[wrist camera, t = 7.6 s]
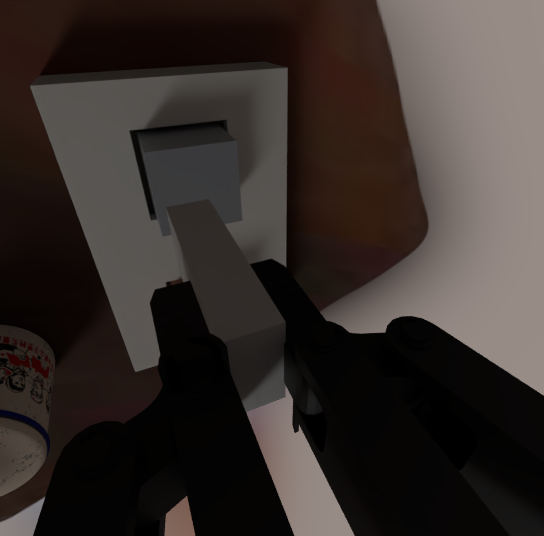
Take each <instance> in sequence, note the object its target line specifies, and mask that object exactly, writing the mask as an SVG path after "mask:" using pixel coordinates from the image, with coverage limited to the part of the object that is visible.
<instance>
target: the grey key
mask: <svg viewBox="0 0 544 536" xmlns="http://www.w3.org/2000/svg"><path fill="white" fill-rule="evenodd" d="M136 133H137V137H138V141H139V146H140V150H141V155H142V159H143V163H144V168H145V172H146V176H147V181H148V185H149V190H150V194H151V198H152V203H153V207H154V210H155V214H156V217H157V220H158V223H159V226H160V230H161V233H162V236H168V235H172V234H171V229H170V225H169V220H168V215H167V211H166V207H169V206H174V205H180V204H185V203H190V202H195V201H201V200H206V199H209V200H210V202H211V203H212V205H213V206H214V208H215V210H216V211H217V213H218V214H219V216H220V218H221V219H222V221H223V222H224V224H228V223H233V222H238V221H242V207H241V193H240V180H239V166H238V152H237V140H235V139H234V138H233V137H232V136H231V135H230V134H229V133H227V132H226V131H225V130H224V129H223V128H222V127H221V126H219V125H218V124H217V123H209V124H200V125H191V126H183V127H174V128H165V129H156V130H147V131H138V132H136Z"/></svg>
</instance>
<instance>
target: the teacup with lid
mask: <svg viewBox="0 0 544 536" xmlns="http://www.w3.org/2000/svg"><path fill="white" fill-rule="evenodd" d="M54 370H55V356H54V353H53V351H52V349H51V347H50V346H49V345H48V343H47V342H46V341H45V340H43V339H42V338H41V337H39V336H38V335H36V334H34V333H32V332H30V331H28V330H25V329H22V328H19V327H14V326H9V325H0V496H2V495H5V494H7V493H9V492H11V491H13V490H15V489H16V488H18V487H20V486H21V485H23V484H24V483H26V482H27V481H28V480H29V479H31V478H32V477H33V476H34V475H35V474H36V472H37V471H38V470H39V469H40V467H41V466H42V465H43V463H44V461H45V459H46V457H47V455H48V452H49V448H50V440H49V436H48V434H47V432H48V423H49V414H50V405H51V396H52V388H53V379H54Z"/></svg>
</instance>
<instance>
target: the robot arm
mask: <svg viewBox="0 0 544 536" xmlns="http://www.w3.org/2000/svg"><path fill="white" fill-rule="evenodd" d="M166 211H167V215H168V220H169V225H170V229H171V234H172V238H173V243H174V248H175V252H176V257H177V261H178V266H179V270H180V274H181V277H182V279H183V282H182V283H178V284H174V285H170V286H166V287H162V288H158V289H155V290H154V293H153V295H152V298H151V301H150V307H151V312H152V317H153V322H154V327H155V332H156V336H157V341H158V346H159V351H160V357H159V361H158V371H159V374H160V377H161V380H162V383H163V386H162V389H161V391H160V393H159V395H158V396H157V398H156V399H155V400H154V401H153V402H152V404H151V405H149V406H148V407H147V408H146V409H145V410H143V411H142V412H141V413H139V414H138V415H136V416H135V417H133V418H132V419H130V420H129V421H127V422H126V423H124V424H122V423H120V422H118V421H104V422H101V423H97V424H94V425H91V426H89V427H87V428H86V429H84V430H83V431H81V432H80V433H78V434H77V435H75V436H74V437H73V439H72V440H71V441H70V442H69V443H68V444H67V445H66V446H65V447H64V449H63V450H62V452H61V454H60V456H59V458H58V460H57V462H56V465H55V468H54V471H53V474H52V478H51V481H50V484H49V487H48V490H47V493H46V496H45V500H44V503H43V506H42V509H41V512H40V515H39V519H38V522H37V525H36V528H35V531H34V534H33V536H164V532H165V518H166V513H167V512H169V511H170V510H171V509H172V508H173V507H174V506H176V504H178V503H179V502H180V501H181V500H182V499H184V498H185V497H186V496H187V497H188V502H189V506H190V512H191V517H192V521H193V526H194V531H195V536H294V534H293V531H292V528H291V526H290V523H289V521H288V518H287V516H286V513H285V511H284V508H283V506H282V503H281V500H280V498H279V496H278V493H277V490H276V488H275V485H274V482H273V480H272V477H271V475H270V472H269V470H268V467H267V465H266V462H265V459H264V457H263V454H262V452H261V449H260V447H259V444H258V442H257V439H256V436H255V434H254V431H253V429H252V426H251V424H250V421H249V419H248V416H247V413H246V412H247V411H250V410H252V409H255V408H258V407H260V406H263V405H266V404H268V403H271V402H273V401H276V400H279V399H281V398H283V397H285V385H286V387H287V388H288V390H289V392H290V394H291V396H292V398H293V424H292V425H293V429H294V432H295V433H296V432H298V431H299V425H300V427H301V429H302V431H303V433H304V435H305V437H306V439H307V441H308V443H309V445H310V447H311V449H312V451H313V453H314V455H315V457H316V459H317V461H318V463H319V465H320V467H321V469H322V471H323V473H324V475H325V477H326V479H327V481H328V483H329V485H330V487H331V489H332V491H333V493H334V495H335V497H336V499H337V501H338V503H339V505H340V507H341V509H342V511H343V513H344V515H345V517H346V519H347V521H348V523H349V525H350V527H351V529H352V531H353V533H354V535H355V536H544V396H543V395H542V394H540V393H539V392H537V391H536V390H534V389H533V388H531V387H530V386H528V385H526V384H525V383H523V382H522V381H520V380H519V379H517V378H516V377H514V376H512V375H511V374H510V373H508V372H507V371H505V370H503V369H502V368H500V367H499V366H497V365H496V364H494V363H493V362H491V361H489V360H488V359H487V358H485V357H483V356H482V355H480V354H479V353H477V352H476V351H474V350H473V349H471V348H469V347H468V346H467V345H465V344H463V343H462V342H460V341H459V340H457V339H456V338H454V337H453V336H451V335H450V334H448V333H447V332H445V331H444V330H442V329H440V328H439V327H438V326H436V325H434V324H433V323H431V322H429V321H427V320H424V319H422V318H418V317H413V316H403V317H399V318H396V319H394V320H392V321H391V322H390V323H389V325H387V328H386V332H385V333H366V334H356V333H349V332H348V331H347V330H346V329H344V328H343V327H342V326H340V325H338V324H336V323H333V322H330V321H326V320H325V319H324V317H323V316H322V315H321V314H320V312H319V311H318V309H317V308H316V307H315V305H314V304H313V303H312V301H311V300H310V299H309V297H308V296H307V295H306V293H305V292H304V291H303V289H302V288H301V287H299V284H298V283H297V281H296V280H295V279H293V276H292V275H291V273H290V272H289V271H288V269H287V268H286V267H285V266H284V265H282V264H281V263H279V262H277V261H275V260H274V259H268V260H264V261H260V262H256V263H252V264H249V263H248V261H247V259H246V258H245V256H244V255H243V253H242V251H241V250H240V248H239V246H238V245H237V243H236V242H235V240H234V238H233V237H232V235H231V234H230V232H229V230H228V229H227V227H226V226H225V224H224V222H223V221H222V219H221V218H220V216H219V214H218V213H217V211H216V210H215V208H214V206H213V205H212V203H211V202H210V200H209V199H206V200H201V201H195V202H190V203H185V204H180V205H174V206H169V207H166Z"/></svg>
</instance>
